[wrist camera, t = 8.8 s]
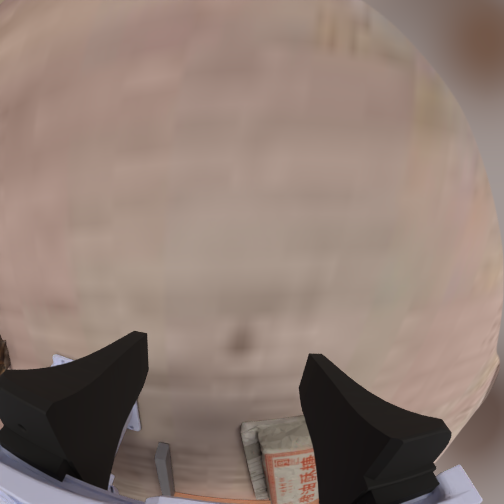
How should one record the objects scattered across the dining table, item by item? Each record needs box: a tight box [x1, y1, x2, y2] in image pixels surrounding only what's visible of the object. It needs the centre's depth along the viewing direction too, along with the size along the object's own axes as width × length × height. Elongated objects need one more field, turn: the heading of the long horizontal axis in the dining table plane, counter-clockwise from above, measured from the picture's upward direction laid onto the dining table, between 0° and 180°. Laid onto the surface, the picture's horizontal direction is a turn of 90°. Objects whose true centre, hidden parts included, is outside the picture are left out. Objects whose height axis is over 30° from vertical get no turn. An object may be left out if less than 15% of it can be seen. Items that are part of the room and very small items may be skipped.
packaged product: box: [241, 415, 319, 504], centre depth 24 cm, size 18×5×10 cm
